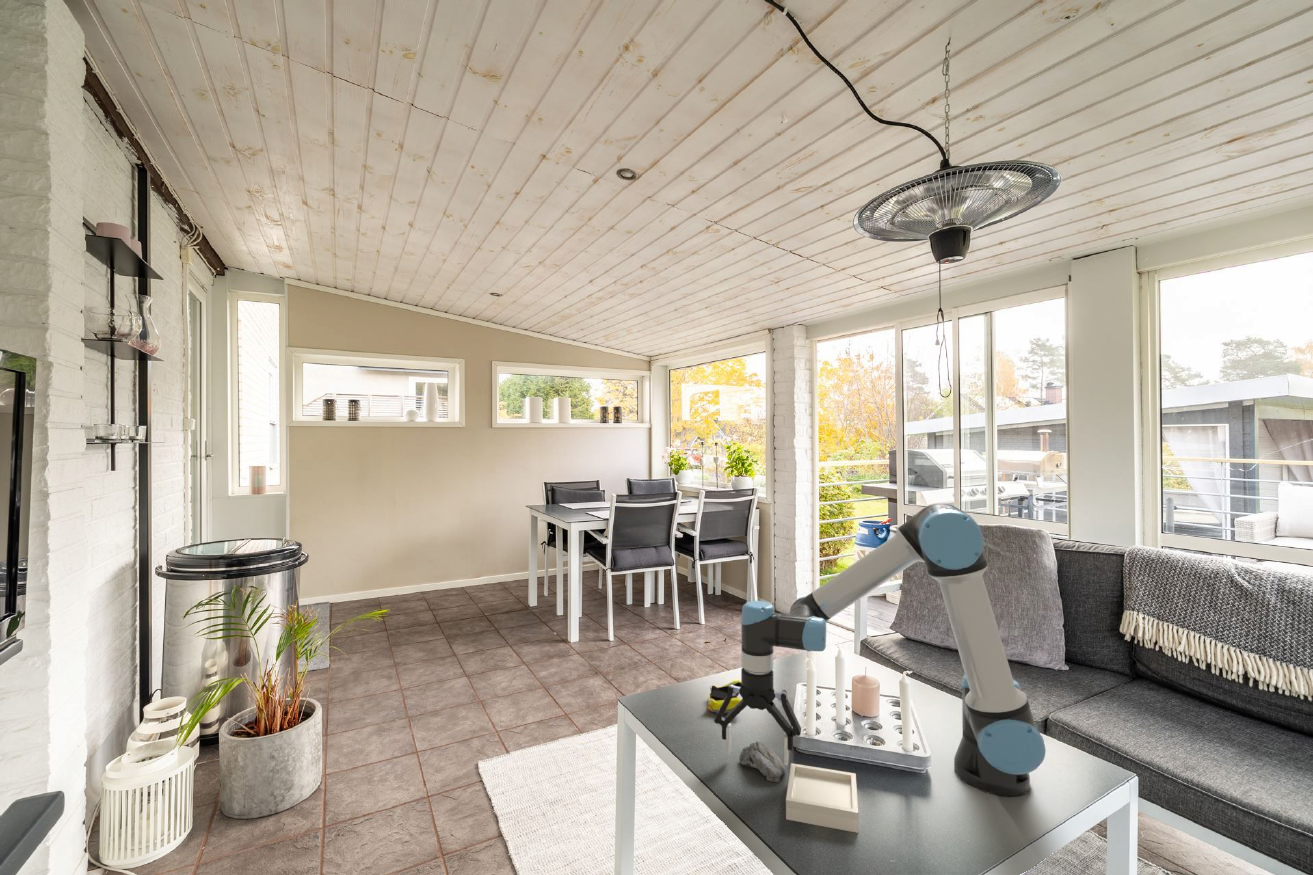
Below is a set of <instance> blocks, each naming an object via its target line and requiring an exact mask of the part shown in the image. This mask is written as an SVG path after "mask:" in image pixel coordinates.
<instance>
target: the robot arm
mask: <svg viewBox="0 0 1313 875" xmlns="http://www.w3.org/2000/svg"><path fill="white" fill-rule="evenodd" d="M984 544H985V543H984V535H983V533H982V529H981V527H980V525H978V523H977V522H976V521H975V519H974V518H973V517H972V516H970V515H969V514H968V513H966V512H964V511H963V510H961V509H959V507H958V508H957V507H956V506H954V505H951V504H949V503H933V504H929V505H927V506H925V507H923V508H921V510H919V511H918V512H917V513H916V514H915V515H913V516H912V517H910V518H909V519H908V520H907V521H906V522H904V523H903V524H902V525H900V526H899V527H897V528H896V532H895V535H893V536H891V537H890V538H889V539H887V540H886V541H885V542H883V543H882V544H880V545H879V546H877V547H876V548H874V549H873V550H872V551H870V552H869V553H867V554H866V555H864V556H863V557H862V558H860V559H858V560H857V561H855V562H854V563H853V564H851V565H850V566H848V567H847V568H845V569H844V570H842V571H841V572H840V573H838V574H836V576H833V577H832V578H831V579H830V580H828V581H827V582H825V583H823V584H822V585H821V586H819V587H818V588H816V589H814V590H813V591H812V592H811V593H809V594H808V595H806V596H802V597H799V598H797V599H796V600H794V602H793V603H792V605H791V607H790V609H789V612H788V613H789V614H787V613H779V612H775V608H774V605H773V604H772V603H770V602H767V601H763V600H749V601H747V602H746V603H744V604H743V606H742V607H741V608H742V609H741V611H742V612H741V622H740V627H741V650H740V652H741V654H740V655H741V656H740V657H741V659H740V660H741V661H740V662H741V670H740V671H741V675H740V676H741V679H740V681H741V687H737V686H735V685H734V684H733V683H731V682H730V683H731V684H730V685H729V688H728V693H727V696H726V698H725V700H724V702H723V704H722V706H721V707H720V709H719V711H718V713H716V715H715V717H714V720H713V722H714V724H717V725H718V724H719V725H720V726H721V739H722V740H724V741H725V753H726V754H725V756H727V757H730V754H731V752H732V723H731V722H732V721H734V719H735V718H736V717H737V716H738V715H739V714H740V713H741V711H743V710H744V709H745V708H746V707H748V708H750V709H752V710H755V709H757V710H759V711H764V710H766V711H767V712H768V714H770V715H771V716H772V717H773V719H774V720H775V721H776V723H777V724H778V725H779V727H780V728H781V730H782V731H783V732H784V735H783V736H784V737H783V739H784V740H783V745H784V746H783V765H784V766H788V764H789V751H793V749H794V737H795V736H797V737H799V736H801V734H802V733H801V732H802V727H801V724H800V722H799V721H798V718H797V717H796V714H795V712H794V710H793V708H792V706H791V703H790V701H789V699H788V692H787V690H786V689H783V690H781V691H775V688H774V670H773V669H774V647H776V648H777V647H778V648H786V649H793V650H794V649H795V650H801V651H807V652H823V651H825V649H826V647H827V622H828V621H829V620H830V619H832V618H833V617H835V616H836V615H837V614H839V613H841V612H843V611H844V610H845V609H847V608H848V607H850V606H852V605H854V604H855V603H856V602H857V601H859V600H861V599H863V598H864V597H865V596H867V595H868V594H869V593H871V592H872V591H874V590H876V589H877V588H879V587H880V586H882V585H883V584H885V583H886V582H888V581H889V580H891V579H892V578H894V577H895V576H897V575H899V574H900V573H902V572H903V571H904V570H906V569H907V568H909V567H910V566H912V565H914V564H915V563H917V562H919V563H925V566H926V570H927V574H928V576H929V577H931V578H932V579H934V580H936V582H937V583H938V584H939V588H940V591H941V596H942V598H943V602H944V606H945V609H946V612H947V615H948V619H949V624H950V625H951V630H952V633H953V636H954V640H955V643H956V646H957V650H958V653H959V654H958V655H959V657H960V661H961V664H962V668H963V670H964V675H963V677H962V683H961V685H960V686H961V688H962V694H961V696H962V708H961V709H962V714H961V716H962V718H961V719H962V722H961V723H962V737H961V739H960V742H959V745H958V747H957V750H956V752H955V755H954V758H953V761H954V763H953V764H954V765H953V768H954V772H955V774H956V775H957V776H958V777H959V778H960V780H962V782H963V781H964V782H965V783H966V784H968V785H969V786H971V787H973V788H975V789H977V790H980V791H982V792H985V793H988V792H989V794H992V795H996V794H997V796H1002V797H1005V796H1006V797H1018V796H1023V795H1025V794H1026V793H1028V792H1029V790H1030V788H1031V777H1030V773H1031V772H1033V771H1035V770H1037V769H1038V768H1039V767H1040V766H1041V764H1043V762H1044V760H1045V757H1046V745H1045V740H1044V737H1043V736H1042V735H1041V733H1040V731H1039V730H1038V728H1037V726H1036V723H1035V720H1034V716H1033V714H1032V711H1031V706H1030V704H1029V700H1028V697H1027V695H1026V693H1025V692H1023V691H1022V690H1021V685H1020V683H1019V682H1018V681H1016V680H1015V679H1014V678H1013V675H1012V671H1011V668H1010V664H1009V660H1008V658H1007V655H1006V650H1005V648H1004V644H1003V641H1002V637H1001V635H1000V632H999V631H1000V630H999V626H998V624H997V621H996V617H995V615H994V614H995V613H994V610H993V607H992V604H991V601H990V600H991V599H990V597H989V594H988V590H987V587H986V583H985V580H984V576H983V575H984V573H985V572H986V570H987V569H988V568H989V566H988V562H987V559H986V558H987V557H986V556H985V551H984ZM737 693H740V694H739V696H740V697H741V698H742V699H741V701H740V702H739V703H738V704H737V705H736V706H735V707H734V708H733V710H732V711H731V712H730V713H727V715H726V716H724V714H725V713H724V712H725V710H726V708H727V706H728V705H729V703H730V701H731V699H732V696H735V695H736V694H737ZM775 699H777V701H778V702H779V703H781V705H782V706H781V707H782V708H783V711H784V714H785V715H786V717H787V718H788V720H787V719H786V718H785V717H784V714H782V712H781V711H780V710H779V709H778V707H777V706H776V704H775V702H774V700H775ZM723 716H724V717H723Z"/></svg>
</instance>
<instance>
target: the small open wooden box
mask: <svg viewBox="0 0 1313 875" xmlns="http://www.w3.org/2000/svg"><path fill="white" fill-rule="evenodd" d="M788 776H789V777H788V784H787V790H786V796H785V819H786V821H787V820H788V821H793V822H798V823H799V822H800V823H803V824H808V825H815V826H820V827H826V828H831V829H834V830H835V829H837V830H841V831H847V832H850V833H855V834H857V833H858V834H859V806H858V789H857V788H858V787H857V774H856V773H855V772H848V771H841V770H836V769H830V768H824V767H816V766H810V765H804V764H800V763H799V764H797V763H793V762H791V763H790V769H789V775H788Z"/></svg>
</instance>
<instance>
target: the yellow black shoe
mask: <svg viewBox="0 0 1313 875" xmlns="http://www.w3.org/2000/svg"><path fill="white" fill-rule="evenodd" d="M731 683H733V684H734V685H735V686H737V687H741V679H739V680H733V681H731V682H729V683H726V684H724V685H721V686H717V685H711V686H709V690H710V693H709V698H707V701H708V702H707V709H708V710H709V711H710V712H712V713H715V714H717V713H718V711H719V709H720V707H721V706H722V704H723V702H724V700H725V698H726V696H727V693H728V688H729V685H730V684H731ZM738 696H740V693H737V694H736V695H735V696H732V699H731V701H730V703H729V705H728V706H727V708H726V710H725V712H724V714H729V713H730V712H731V711H732V710H733V708H734V707H735V706H736V705H737V704H738V703H739V702H740V701H741V700H742V699H741V698H740V697H738Z"/></svg>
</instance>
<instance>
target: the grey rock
mask: <svg viewBox="0 0 1313 875" xmlns="http://www.w3.org/2000/svg"><path fill="white" fill-rule="evenodd" d="M738 760H739V762H740V763H741V764H742V765H743V766H745V767H748V768H754V769H758V771H759V772H760V773H761V774H762V775H763V777H765V778H766V781H768V782H772V783H779V782H780V781H781V777H782V776H783V775H784V774H785V773H786V768H785V765H784V763H783V762H782V760H781V759H780V757H779V756H778V755H777V753H775V751H773V750H772V749H771V748H770V747H769V746H767V745H766V744H765V743H764V742H762V741H755V742H751V743H750V744H749V746H745V747H744V748H743V749H742V750H741V752H740V755H739V759H738Z"/></svg>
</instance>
